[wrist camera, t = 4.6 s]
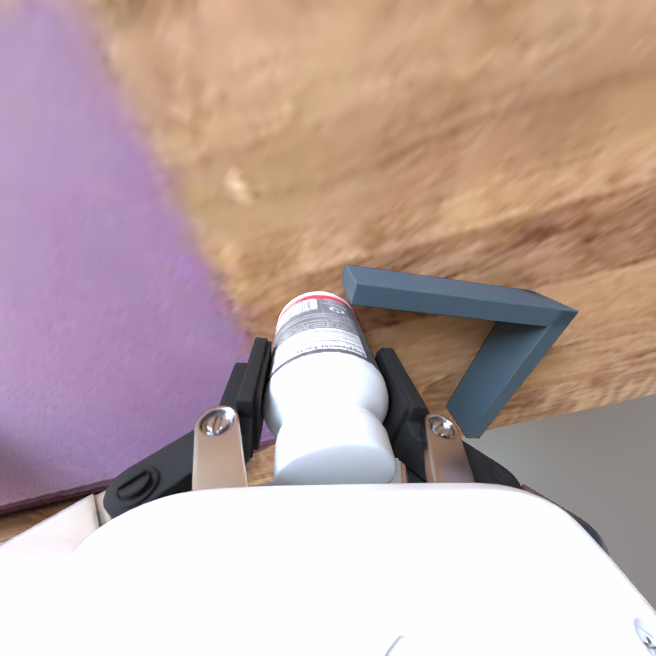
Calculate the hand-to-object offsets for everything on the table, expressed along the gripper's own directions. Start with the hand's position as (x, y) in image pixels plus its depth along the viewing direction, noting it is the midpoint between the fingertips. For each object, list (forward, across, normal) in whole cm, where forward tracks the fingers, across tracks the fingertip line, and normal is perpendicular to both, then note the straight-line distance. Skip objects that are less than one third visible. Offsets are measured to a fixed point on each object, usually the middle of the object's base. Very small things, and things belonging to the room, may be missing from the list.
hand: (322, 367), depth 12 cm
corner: (+4, -8, +2) cm, 9 cm away
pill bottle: (+4, 0, 0) cm, 4 cm away
